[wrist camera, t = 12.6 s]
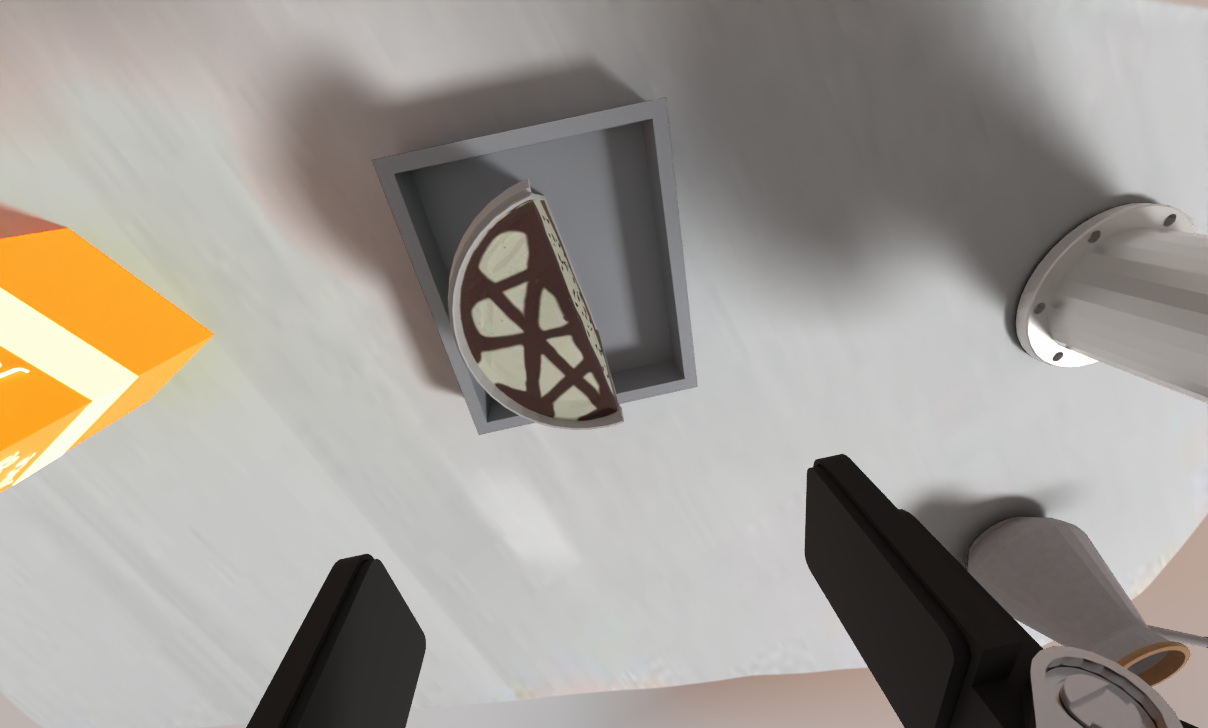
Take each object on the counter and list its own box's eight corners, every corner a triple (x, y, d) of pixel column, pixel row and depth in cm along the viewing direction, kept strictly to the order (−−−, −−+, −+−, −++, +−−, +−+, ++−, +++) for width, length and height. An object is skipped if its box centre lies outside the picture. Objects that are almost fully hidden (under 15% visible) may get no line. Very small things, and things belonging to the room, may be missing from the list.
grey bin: (650, 104, 26) (665, 96, 22) (681, 361, 33) (697, 386, 30) (396, 158, 26) (371, 159, 22) (486, 404, 33) (478, 434, 30)
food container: (437, 209, 26) (377, 239, 17) (534, 169, 26) (525, 180, 17) (524, 379, 32) (514, 471, 23) (605, 349, 31) (627, 430, 22)
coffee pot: (936, 586, 49) (1081, 751, 36) (970, 508, 44) (1154, 665, 31) (1111, 564, 51) (1312, 713, 37) (1163, 486, 46) (1417, 626, 32)
